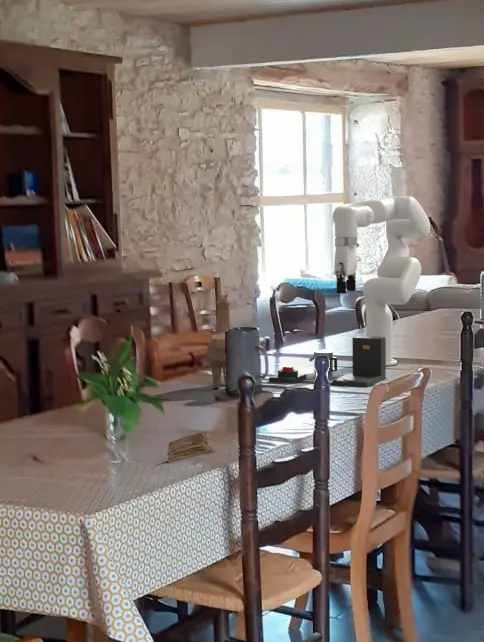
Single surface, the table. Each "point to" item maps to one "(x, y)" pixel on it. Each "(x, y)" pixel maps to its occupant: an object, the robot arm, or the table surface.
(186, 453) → the wood plank
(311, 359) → the kettle
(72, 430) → the table surface
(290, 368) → the power button
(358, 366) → the coffee maker
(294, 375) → the switch block
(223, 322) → the toy
